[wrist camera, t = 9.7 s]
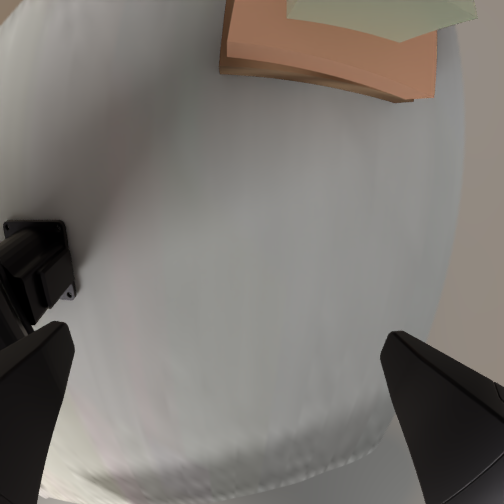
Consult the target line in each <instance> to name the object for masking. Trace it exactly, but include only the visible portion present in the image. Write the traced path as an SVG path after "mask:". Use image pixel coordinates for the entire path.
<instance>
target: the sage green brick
mask: <svg viewBox="0 0 504 504" xmlns="http://www.w3.org/2000/svg"><path fill="white" fill-rule="evenodd" d="M287 19H295V20H303V21H310V22H316V23H322V24H328V25H333V26H338V27H343V28H347V29H352V30H356V31H360V32H364V33H368V34H372V35H375V36H379V37H382V38H386V39H389V40H392V41H396V42H399V43H401V42H403V41H406V40H409V39H411V38H414V37H417V36H420V35H423V34H426V33H429V32H432V31H435V30H438V29H441V28H445V27H448V26H452V25H455V24H459V23H462V22H466V21H470V20H474V19H477V12H476V7H475V3H474V0H287Z"/></svg>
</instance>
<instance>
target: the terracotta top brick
mask: <svg viewBox="0 0 504 504" xmlns="http://www.w3.org/2000/svg"><path fill="white" fill-rule="evenodd" d="M227 57H232V58H241V59H249V60H257V61H263V62H270V63H276V64H282V65H287V66H292V67H297V68H302V69H307V70H311V71H315V72H320V73H324V74H328V75H332V76H335V77H339V78H343V79H346V80H350V81H353V82H356V83H360V84H363V85H366V86H369V87H372V88H375V89H378V90H381V91H384V92H387V93H390V94H392V95H395V96H398V97H400V98H403V99H405V100H407V99H420V98H434V93H435V80H436V62H437V30H435V31H432V32H429V33H426V34H423V35H420V36H417V37H414V38H411V39H409V40H406V41H403V42H401V43H399V42H396V41H392V40H389V39H386V38H382V37H379V36H375V35H372V34H368V33H364V32H360V31H356V30H352V29H347V28H343V27H338V26H333V25H328V24H322V23H316V22H310V21H303V20H295V19H287V0H235V1H234V7H233V12H232V17H231V22H230V28H229V33H228V39H227Z"/></svg>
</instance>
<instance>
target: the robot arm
mask: <svg viewBox="0 0 504 504" xmlns="http://www.w3.org/2000/svg"><path fill="white" fill-rule="evenodd" d="M58 225H59V226H60V230H59V229H58V227H57V226H58ZM8 226H9V227H8ZM3 228H4V234H5V240H4V241H2V242H1V243H0V504H37V500H38V494H39V489H40V484H41V479H42V474H43V470H44V465H45V461H46V457H47V453H48V449H49V445H50V442H51V438H52V434H53V431H54V427H55V424H56V421H57V417H58V414H59V411H60V408H61V405H62V401H63V398H64V394H65V390H66V386H67V381H68V377H69V373H70V369H71V365H72V361H73V357H74V353H75V347H74V343H73V340H72V337H71V334H70V331H69V327H68V325H67V324H66V323H64V322H59V321H52V322H50V323H49V324H47V325H45V326H43V327H41V328H40V329H38V330H36V331H34V330H33V328H32V326H31V325H35V324H36V323H37V322H38V321H39V319H40V318H41V317H42V315H43V314H44V313H45V312H46V310H47V309H51V308H52V307H53V306H54V304H55V303H56V302H57V301H58V299H64V300H73V299H74V298H75V297H76V289H75V284H74V280H75V278H74V273H73V267H72V261H71V255H70V250H69V249H68V242H67V235H66V227H65V224H64V222H63V221H62V220H7V221H6V222H4V224H3ZM69 292H70V293H71V294H72V295H70V294H69ZM380 360H381V364H382V368H383V371H384V375H385V378H386V382H387V386H388V389H389V393H390V397H391V400H392V403H393V406H394V409H395V412H396V415H397V417H398V420H399V423H400V425H401V428H402V431H403V433H404V437H405V440H406V442H407V445H408V448H409V451H410V454H411V457H412V460H413V463H414V466H415V469H416V473H417V476H418V479H419V482H420V486H421V489H422V492H423V496H424V499H425V503H426V504H504V387H503V386H501V385H499V384H498V383H496V382H493V381H492V380H490V379H489V378H487V377H485V376H483V375H481V374H479V373H478V372H476V371H474V370H472V369H470V368H469V367H467V366H465V365H463V364H462V363H460V362H458V361H456V360H454V359H453V358H451V357H449V356H447V355H445V354H444V353H442V352H440V351H438V350H437V349H435V348H433V347H431V346H430V345H428V344H426V343H424V342H422V341H421V340H419V339H417V338H415V337H413V336H412V335H410V334H408V333H406V332H404V331H392V332H390V333H389V334H388V336H387V339H386V341H385V344H384V346H383V349H382V351H381V355H380Z"/></svg>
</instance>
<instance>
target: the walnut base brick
mask: <svg viewBox="0 0 504 504" xmlns="http://www.w3.org/2000/svg"><path fill="white" fill-rule="evenodd" d="M234 1H235V0H226V7H225V15H224V23H223V32H222V41H221V50H220V60H219V71H220V74H228V75H244V76H256V77H267V78H275V79H284V80H291V81H298V82H304V83H310V84H316V85H322V86H327V87H332V88H337V89H342V90H346V91H351V92H355V93H359V94H363V95H367V96H371V97H375V98H379V99H382V100H386V101H390V102H393V103H402V102H414V99H407V100H405V99H403V98H400V97H398V96H395V95H392V94H390V93H387V92H384V91H381V90H378V89H375V88H372V87H369V86H366V85H363V84H360V83H356V82H353V81H350V80H346V79H343V78H339V77H335V76H332V75H328V74H324V73H320V72H315V71H311V70H307V69H302V68H297V67H292V66H287V65H282V64H276V63H270V62H263V61H257V60H249V59H241V58H232V57H227V39H228V33H229V28H230V22H231V17H232V12H233V7H234Z"/></svg>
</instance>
